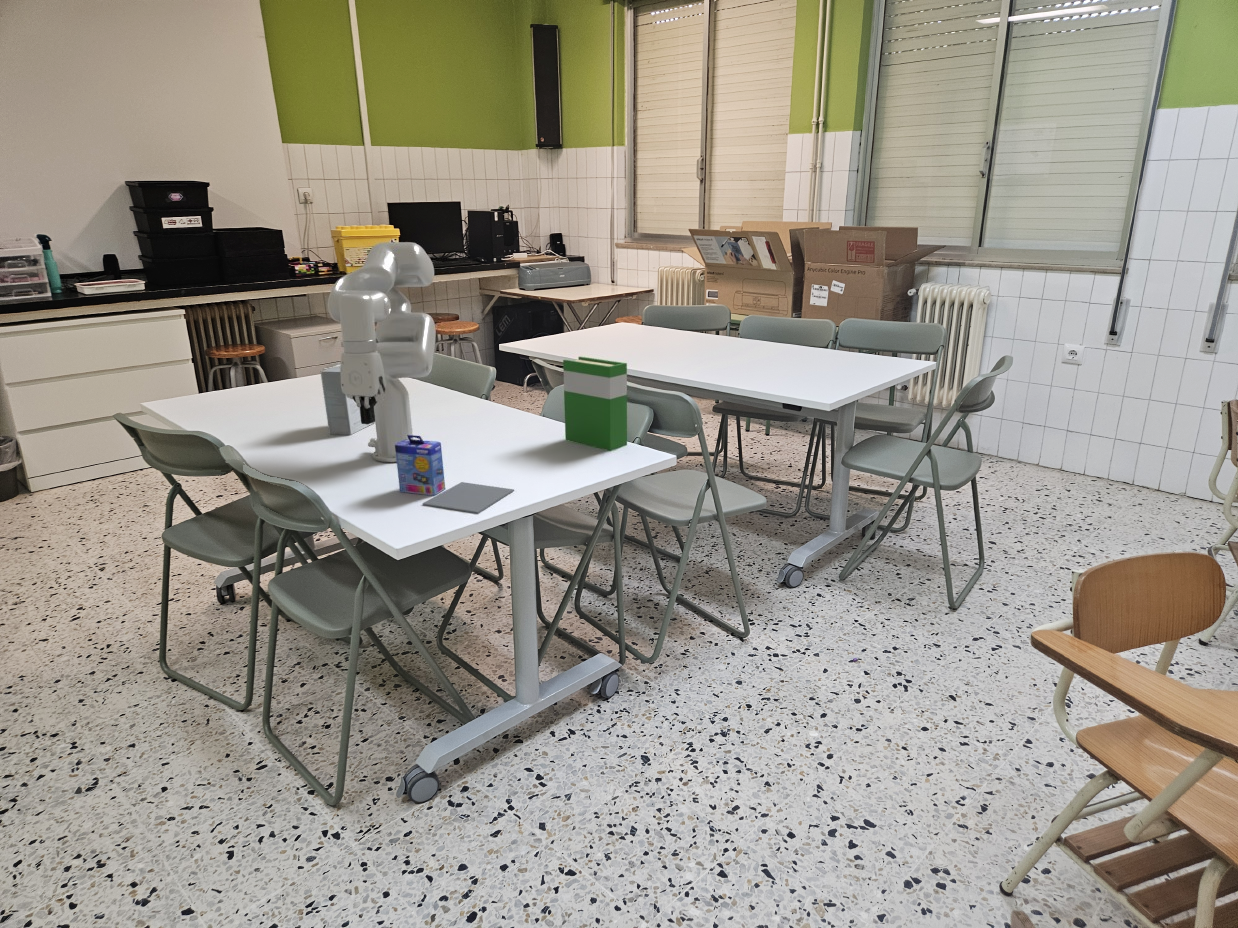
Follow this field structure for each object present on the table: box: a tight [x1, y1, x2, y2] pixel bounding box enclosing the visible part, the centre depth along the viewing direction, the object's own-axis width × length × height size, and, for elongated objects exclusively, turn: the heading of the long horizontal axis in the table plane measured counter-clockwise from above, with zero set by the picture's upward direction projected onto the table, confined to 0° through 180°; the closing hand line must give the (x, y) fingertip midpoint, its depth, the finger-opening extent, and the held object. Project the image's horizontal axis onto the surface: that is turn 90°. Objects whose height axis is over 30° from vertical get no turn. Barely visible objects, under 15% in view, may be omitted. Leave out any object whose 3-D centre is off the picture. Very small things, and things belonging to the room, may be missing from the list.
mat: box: [422, 481, 515, 515], centre depth 180 cm, size 15×16×1 cm
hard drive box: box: [320, 363, 375, 436], centre depth 237 cm, size 16×8×20 cm, turn 168°
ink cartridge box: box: [395, 434, 446, 497], centre depth 182 cm, size 10×6×14 cm, turn 73°
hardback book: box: [562, 356, 628, 452], centre depth 220 cm, size 18×7×24 cm, turn 50°
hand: (368, 422), depth 184 cm, fingers closed
